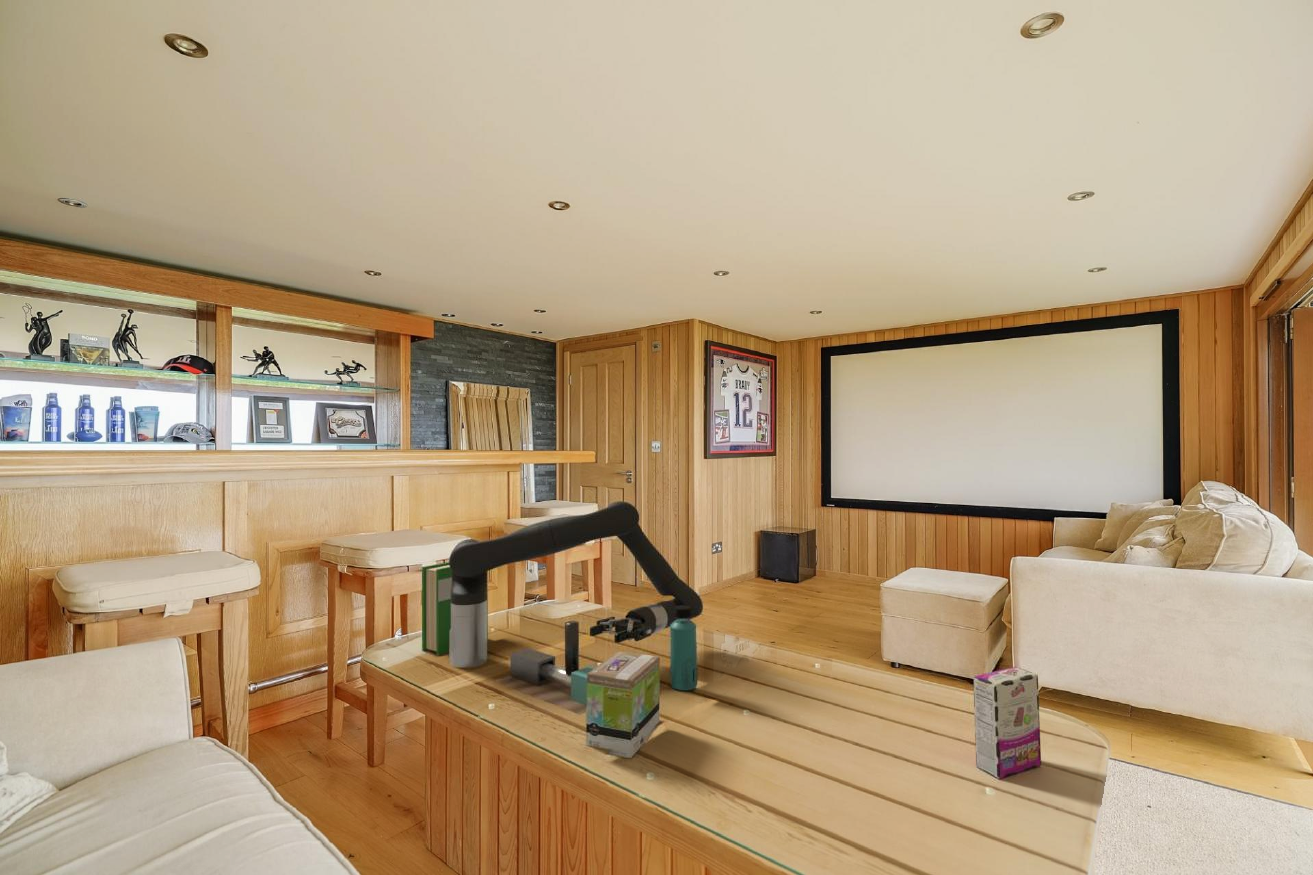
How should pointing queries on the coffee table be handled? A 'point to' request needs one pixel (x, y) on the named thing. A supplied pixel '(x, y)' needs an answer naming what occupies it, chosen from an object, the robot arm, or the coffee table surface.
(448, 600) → the hardback book
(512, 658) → the grey block
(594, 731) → the tea box
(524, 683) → the base board
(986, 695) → the candy bar box
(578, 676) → the socket
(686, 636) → the beverage bottle
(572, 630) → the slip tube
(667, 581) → the robot arm
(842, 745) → the coffee table surface
